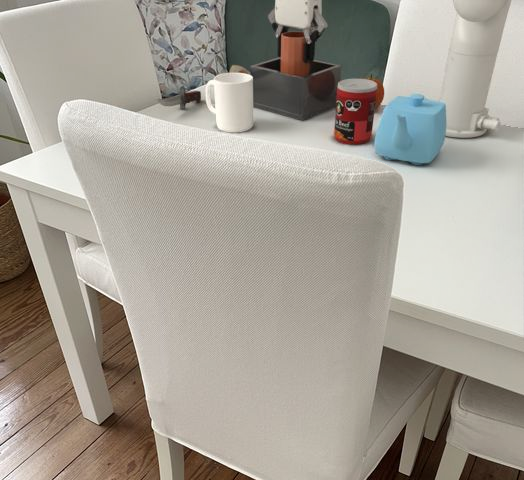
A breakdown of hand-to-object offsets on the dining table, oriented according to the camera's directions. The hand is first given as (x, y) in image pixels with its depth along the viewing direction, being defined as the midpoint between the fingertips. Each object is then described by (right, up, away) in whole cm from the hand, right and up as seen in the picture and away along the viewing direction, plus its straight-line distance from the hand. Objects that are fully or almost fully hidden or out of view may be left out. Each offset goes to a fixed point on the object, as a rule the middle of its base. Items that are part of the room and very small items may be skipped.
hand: (295, 58), depth 131 cm
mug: (-12, -2, +14) cm, 18 cm away
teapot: (+21, -29, -18) cm, 40 cm away
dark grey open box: (0, -8, +7) cm, 11 cm away
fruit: (+17, -10, +5) cm, 21 cm away
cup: (-15, -17, -3) cm, 23 cm away
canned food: (+12, -22, -10) cm, 27 cm away
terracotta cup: (0, -3, +3) cm, 4 cm away
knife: (-27, -10, +5) cm, 29 cm away
